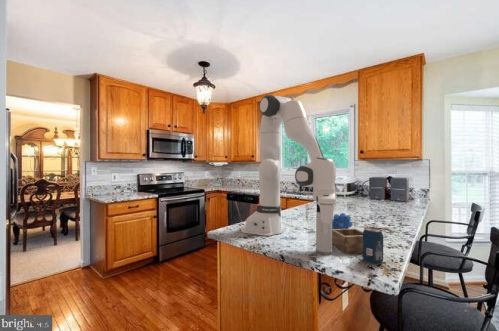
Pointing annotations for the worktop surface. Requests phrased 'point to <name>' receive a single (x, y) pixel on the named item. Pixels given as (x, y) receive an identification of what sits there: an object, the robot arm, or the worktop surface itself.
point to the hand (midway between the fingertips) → (323, 230)
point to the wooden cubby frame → (347, 240)
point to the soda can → (372, 245)
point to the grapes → (341, 221)
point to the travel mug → (323, 236)
